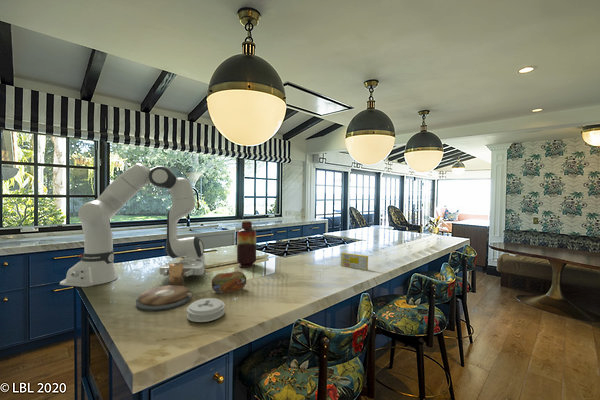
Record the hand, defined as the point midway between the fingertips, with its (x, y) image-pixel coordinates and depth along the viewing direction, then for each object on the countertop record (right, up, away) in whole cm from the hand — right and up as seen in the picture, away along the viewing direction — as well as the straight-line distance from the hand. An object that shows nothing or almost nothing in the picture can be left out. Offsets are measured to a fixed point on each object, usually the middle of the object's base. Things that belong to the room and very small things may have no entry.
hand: (175, 274), depth 127 cm
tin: (+26, -6, -5) cm, 27 cm away
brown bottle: (+26, -5, +36) cm, 45 cm away
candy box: (+89, -6, +33) cm, 95 cm away
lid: (+24, -7, -29) cm, 38 cm away
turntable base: (+3, -6, -16) cm, 17 cm away
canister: (0, -5, +1) cm, 6 cm away
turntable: (+4, -4, -16) cm, 17 cm away
